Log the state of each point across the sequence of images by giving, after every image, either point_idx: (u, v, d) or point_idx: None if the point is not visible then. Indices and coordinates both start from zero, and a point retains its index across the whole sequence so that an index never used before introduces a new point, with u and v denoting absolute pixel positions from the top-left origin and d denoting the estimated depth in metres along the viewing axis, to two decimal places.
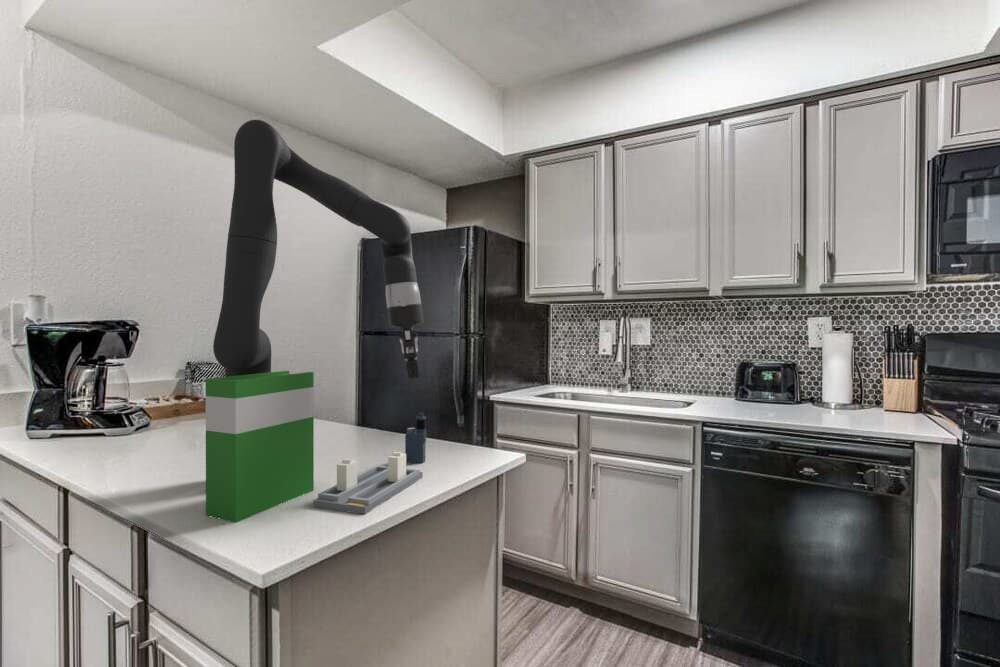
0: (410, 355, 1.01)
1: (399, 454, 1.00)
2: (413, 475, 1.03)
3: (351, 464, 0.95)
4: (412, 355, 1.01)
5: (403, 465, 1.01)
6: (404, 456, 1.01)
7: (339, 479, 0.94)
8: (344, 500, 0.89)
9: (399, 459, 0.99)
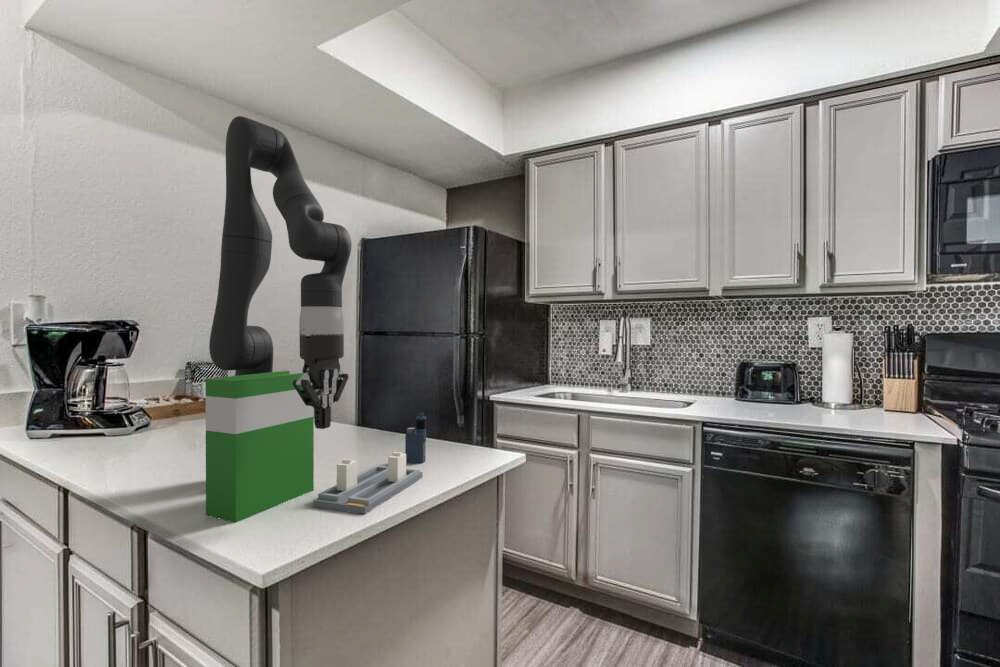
0: (310, 402, 0.85)
1: (399, 454, 1.00)
2: (413, 475, 1.03)
3: (351, 464, 0.95)
4: (312, 402, 0.85)
5: (403, 465, 1.01)
6: (404, 456, 1.01)
7: (339, 479, 0.94)
8: (344, 500, 0.89)
9: (399, 459, 0.99)
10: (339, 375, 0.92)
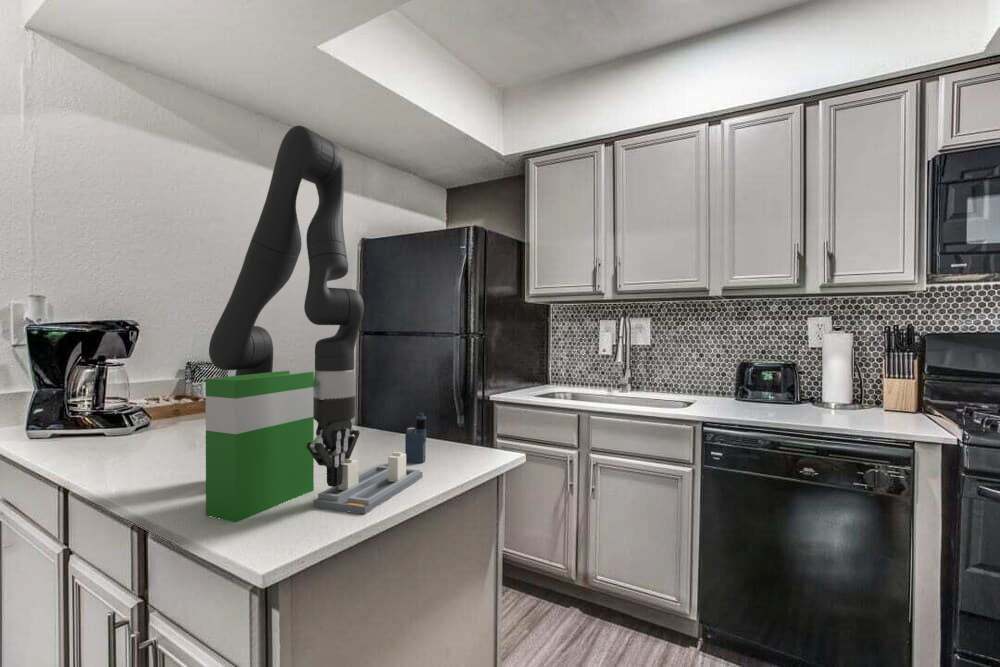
0: (323, 462, 0.88)
1: (399, 454, 1.00)
2: (413, 475, 1.03)
3: (352, 463, 0.95)
4: (325, 463, 0.88)
5: (403, 465, 1.01)
6: (404, 456, 1.01)
7: None
8: (344, 500, 0.89)
9: (399, 459, 0.99)
10: (350, 432, 0.95)
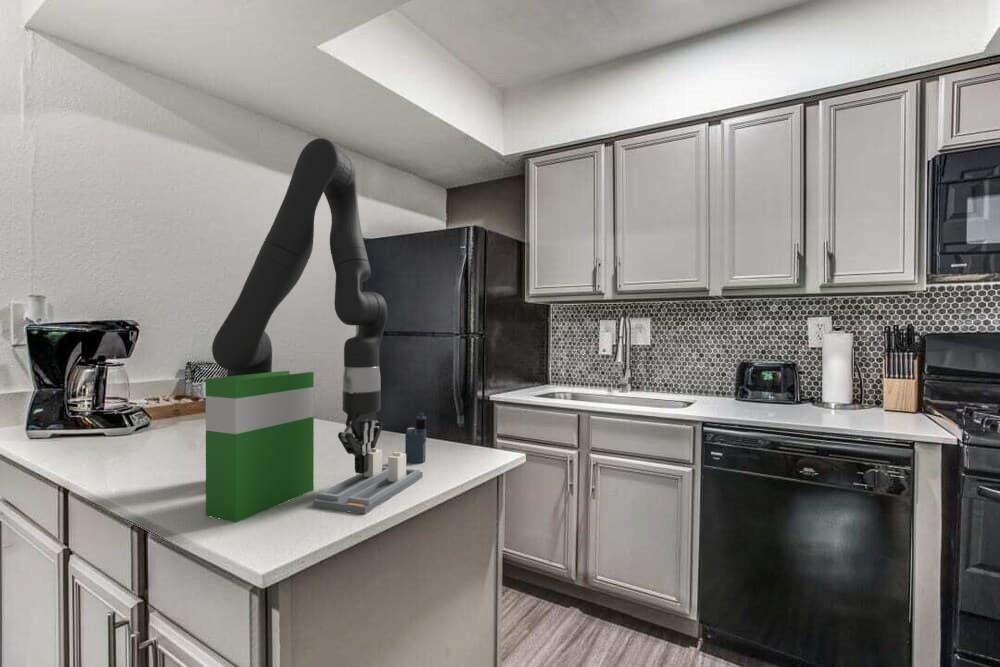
0: (352, 451, 0.97)
1: (399, 454, 1.00)
2: (413, 475, 1.03)
3: (377, 452, 1.03)
4: (354, 451, 0.97)
5: (403, 465, 1.01)
6: (404, 456, 1.01)
7: None
8: (344, 500, 0.89)
9: (399, 459, 0.99)
10: (375, 424, 1.04)
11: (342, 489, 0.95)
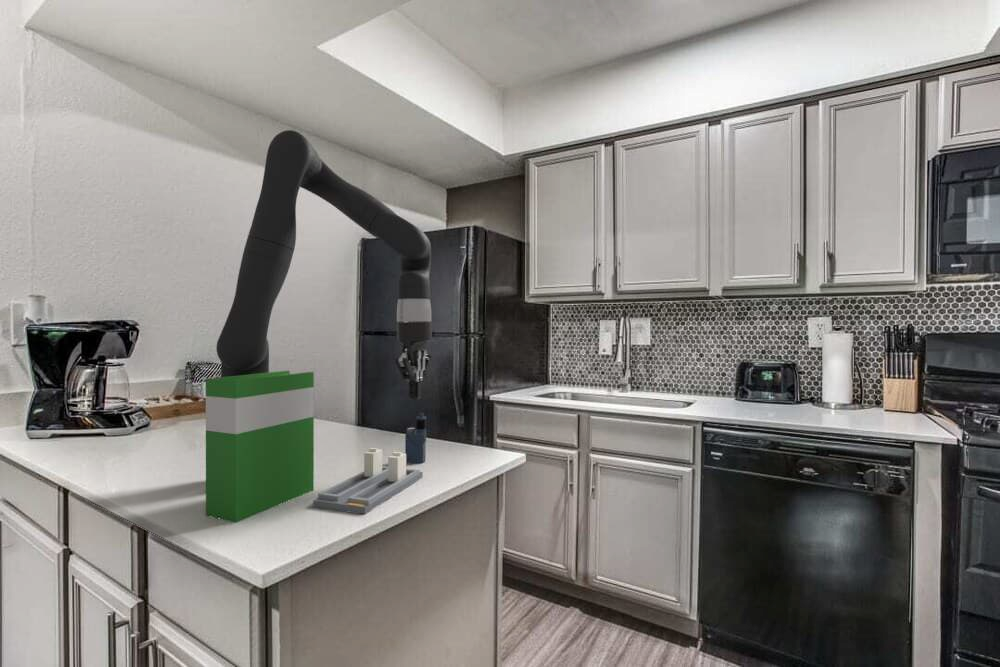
0: (407, 376, 1.04)
1: (399, 454, 1.00)
2: (413, 475, 1.03)
3: (377, 452, 1.03)
4: (409, 377, 1.04)
5: (403, 465, 1.01)
6: (404, 456, 1.01)
7: (367, 466, 1.02)
8: (344, 500, 0.89)
9: (399, 459, 0.99)
10: (425, 355, 1.11)
11: (342, 489, 0.95)
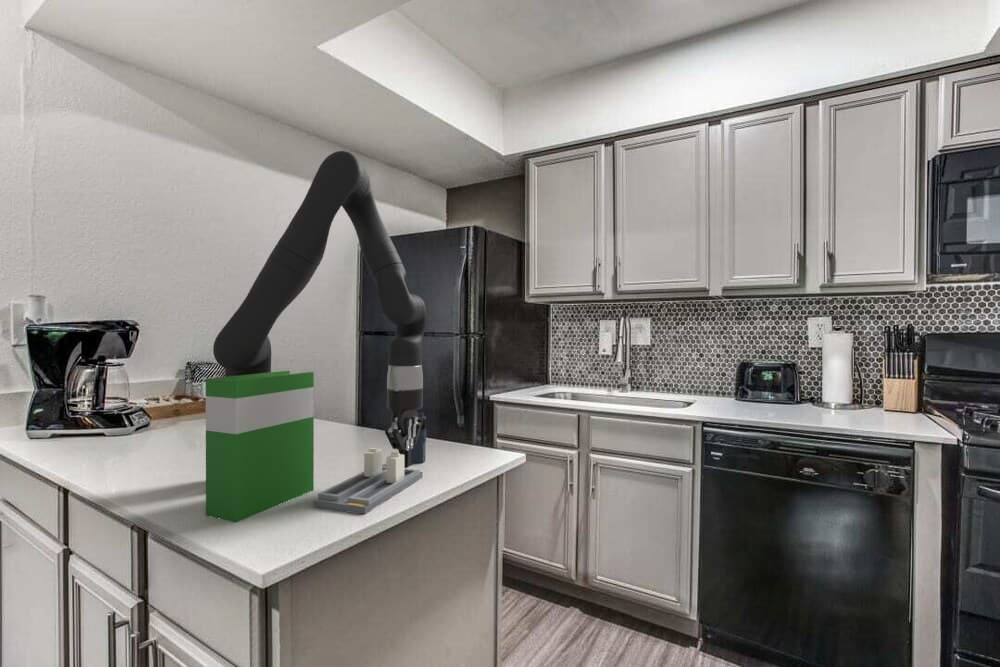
0: (397, 446, 1.01)
1: (397, 455, 0.99)
2: (413, 475, 1.03)
3: (377, 452, 1.03)
4: (399, 446, 1.01)
5: (401, 466, 1.00)
6: (402, 457, 1.01)
7: (367, 466, 1.02)
8: (344, 500, 0.89)
9: (397, 460, 0.99)
10: None
11: (342, 489, 0.95)
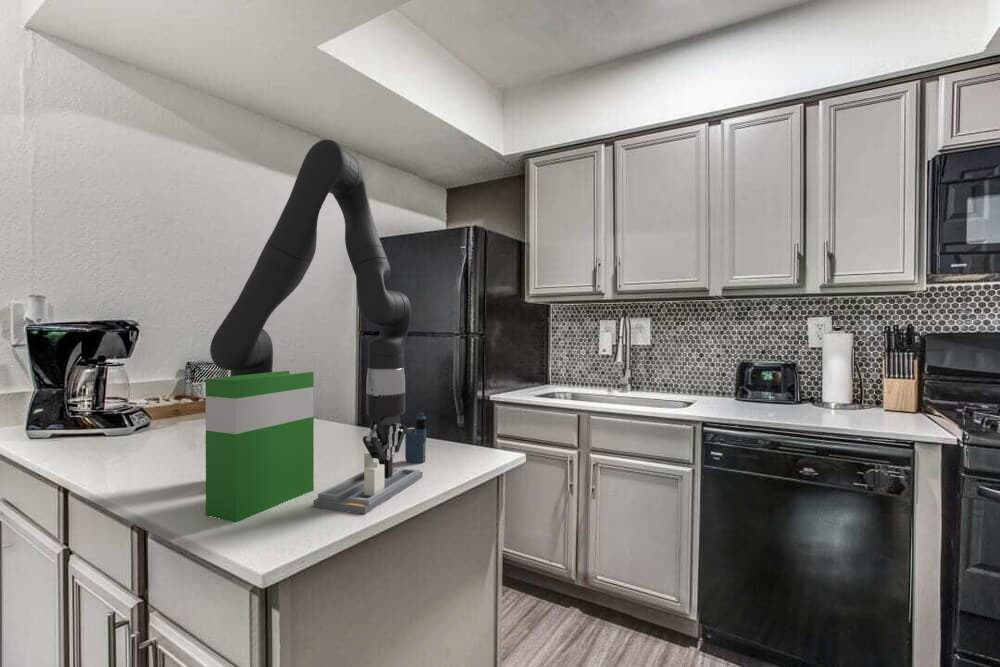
0: (376, 455, 0.94)
1: (376, 465, 0.92)
2: (413, 475, 1.03)
3: None
4: (378, 456, 0.93)
5: (381, 477, 0.93)
6: (382, 467, 0.93)
7: (367, 466, 1.02)
8: (344, 500, 0.89)
9: (376, 470, 0.91)
10: (398, 427, 1.01)
11: (342, 489, 0.95)
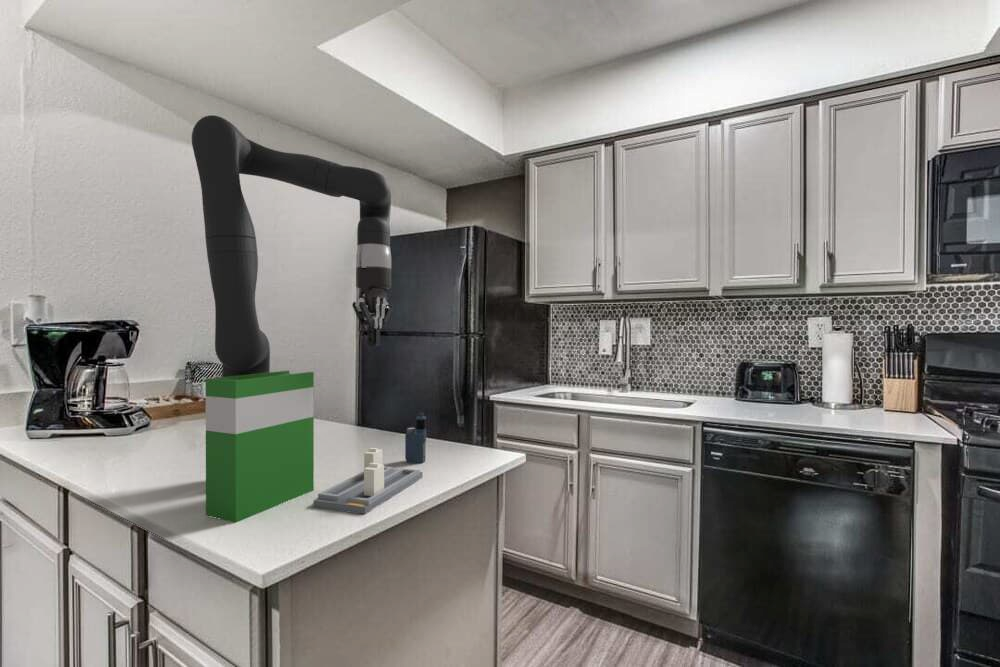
0: (365, 322, 1.04)
1: (376, 465, 0.92)
2: (413, 475, 1.03)
3: (377, 452, 1.03)
4: (367, 322, 1.04)
5: (381, 478, 0.93)
6: (382, 467, 0.93)
7: (367, 466, 1.02)
8: (344, 500, 0.89)
9: (376, 471, 0.91)
10: (386, 305, 1.11)
11: (342, 489, 0.95)
